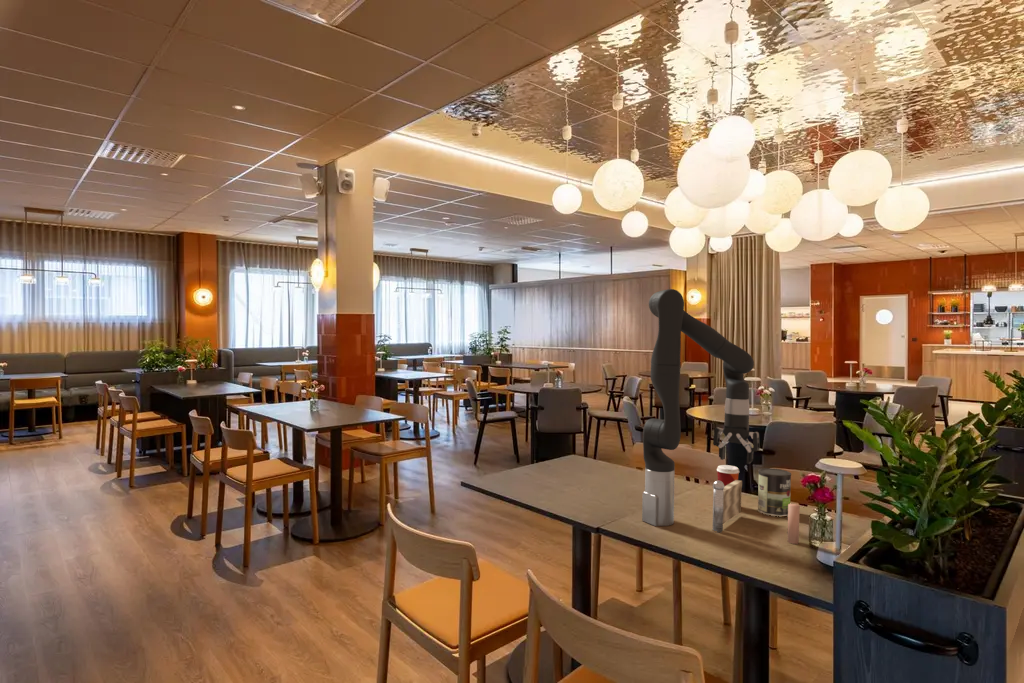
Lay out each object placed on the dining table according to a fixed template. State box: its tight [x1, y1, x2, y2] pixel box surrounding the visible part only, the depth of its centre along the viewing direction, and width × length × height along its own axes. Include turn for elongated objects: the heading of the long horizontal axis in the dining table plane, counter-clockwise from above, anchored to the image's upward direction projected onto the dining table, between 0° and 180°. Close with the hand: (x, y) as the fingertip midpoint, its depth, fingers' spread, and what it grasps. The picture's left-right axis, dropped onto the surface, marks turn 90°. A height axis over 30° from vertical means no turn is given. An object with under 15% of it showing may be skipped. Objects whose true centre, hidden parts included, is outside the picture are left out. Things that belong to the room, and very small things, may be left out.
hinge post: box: [712, 479, 724, 533], centre depth 174 cm, size 3×3×16 cm
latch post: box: [787, 503, 801, 545], centre depth 165 cm, size 3×3×11 cm
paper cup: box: [716, 464, 740, 486], centre depth 198 cm, size 8×8×14 cm
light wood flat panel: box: [723, 479, 743, 525], centre depth 182 cm, size 17×2×10 cm, turn 139°
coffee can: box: [757, 467, 792, 518], centre depth 192 cm, size 10×10×14 cm
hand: (735, 461), depth 185 cm, fingers open, 8 cm apart
